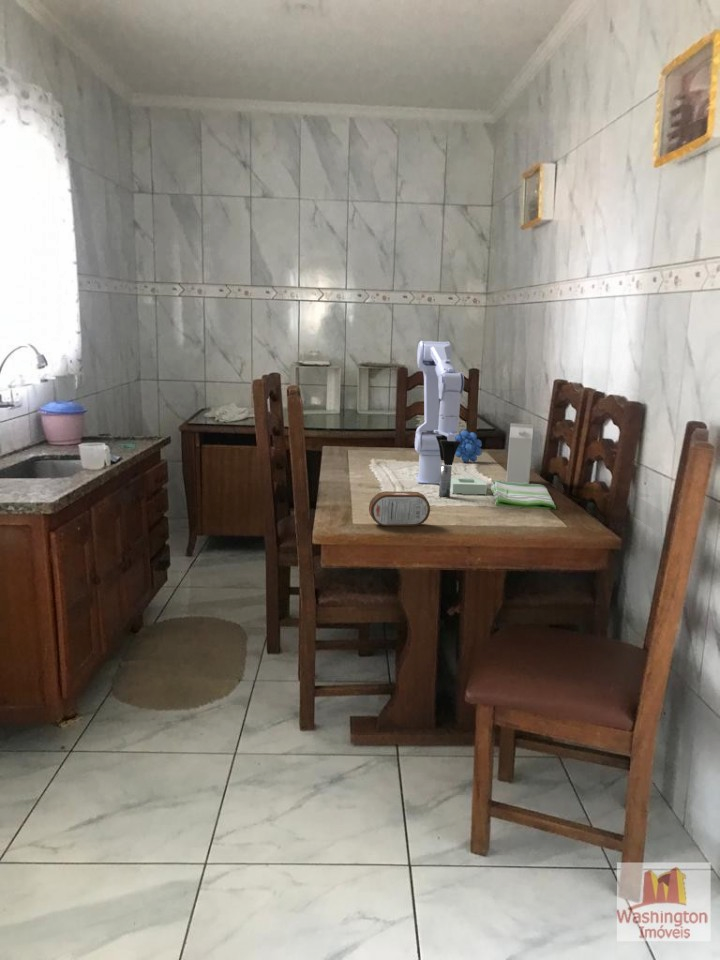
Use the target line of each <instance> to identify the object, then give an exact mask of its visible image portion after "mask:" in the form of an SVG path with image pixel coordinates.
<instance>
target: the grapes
mask: <svg viewBox="0 0 720 960" xmlns="http://www.w3.org/2000/svg"><path fill="white" fill-rule="evenodd" d="M455 437H456V438H455V441H460V445H459V446H458V448H457V450H456V453H455V456H454V457H456V458H461V460H462V462H464V463H469V461H471V462H477V460H478V457H480V456H481V455H482V454H483V451H482V448H481V447H482V445H483V443H482V440H480V439H479V438H477V437H478V436H477V434H476V433H475V432H469V431H468V430H466V429H462V431H461V432H460V433H459V434H458V435H457V436H455Z"/></svg>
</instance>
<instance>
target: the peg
mask: <svg viewBox="0 0 720 960" xmlns="http://www.w3.org/2000/svg"><path fill="white" fill-rule="evenodd" d="M452 470H453V467H452V465H445V464H442V466H441V467H440V484H439V485H438V486H439V488H438V497H439V496H440V497H439V498H441V497H449V498H450V497H451V491H450V487H451V477H452Z"/></svg>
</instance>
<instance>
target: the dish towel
mask: <svg viewBox="0 0 720 960" xmlns="http://www.w3.org/2000/svg"><path fill="white" fill-rule="evenodd" d="M490 489H491V492H492V495H493V496H495V497H494V501H496V504H495V506H496V505H497V506H498V507H507V506H508V507H507V508H523V507H525V508H526V509H539V510H541V509H543V510H554V509H555V510H556V509H557V506H556V504H555V502H554V500H553V499H552V495H550V493H549V490H548V488H547V487H546V486H545V485H543V484H540V483H539V484H538V483H537V484H536V483H529V484H528V483H514V482H506V481H502V480H499V479H495V480H494V482H492V483H491V484H490ZM525 508H524V509H525Z"/></svg>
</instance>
